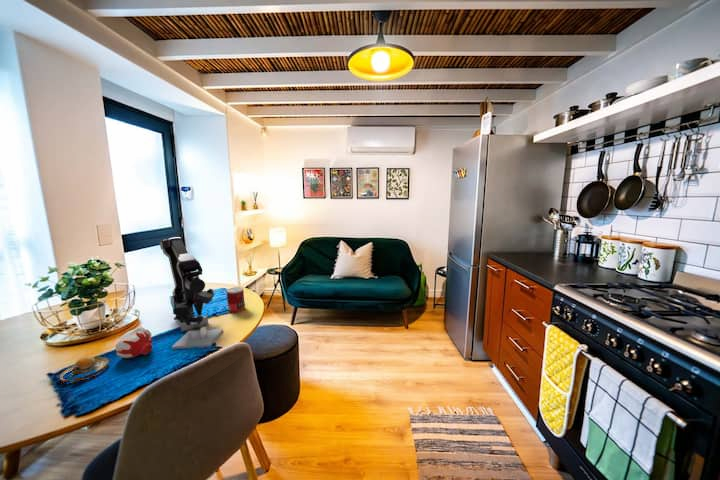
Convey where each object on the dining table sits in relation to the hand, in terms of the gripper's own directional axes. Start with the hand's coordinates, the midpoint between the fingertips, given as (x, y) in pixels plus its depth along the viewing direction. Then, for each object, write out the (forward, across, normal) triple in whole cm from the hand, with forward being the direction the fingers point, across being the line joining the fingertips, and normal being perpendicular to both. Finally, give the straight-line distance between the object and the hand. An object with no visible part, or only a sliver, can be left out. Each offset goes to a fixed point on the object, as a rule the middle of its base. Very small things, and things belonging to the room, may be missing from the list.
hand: (194, 320), depth 116 cm
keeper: (+3, -11, -7) cm, 14 cm away
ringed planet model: (+4, -28, +21) cm, 35 cm away
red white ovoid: (+4, -19, +11) cm, 22 cm away
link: (+3, 0, 0) cm, 3 cm away
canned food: (+4, +17, -12) cm, 21 cm away
